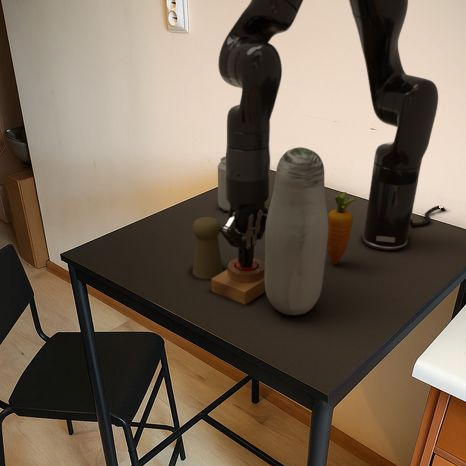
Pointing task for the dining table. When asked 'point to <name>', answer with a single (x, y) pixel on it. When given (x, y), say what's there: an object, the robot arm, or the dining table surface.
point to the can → (222, 186)
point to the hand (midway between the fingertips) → (246, 264)
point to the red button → (243, 268)
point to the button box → (240, 282)
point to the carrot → (339, 228)
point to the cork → (207, 248)
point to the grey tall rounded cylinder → (296, 233)
